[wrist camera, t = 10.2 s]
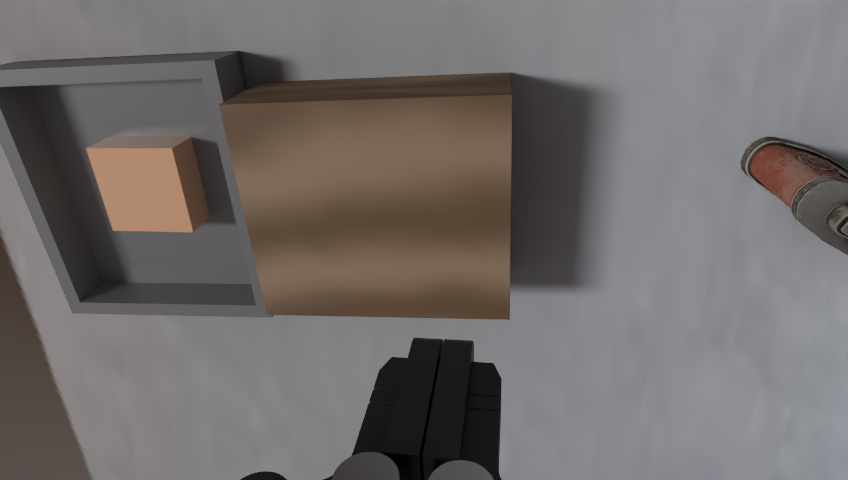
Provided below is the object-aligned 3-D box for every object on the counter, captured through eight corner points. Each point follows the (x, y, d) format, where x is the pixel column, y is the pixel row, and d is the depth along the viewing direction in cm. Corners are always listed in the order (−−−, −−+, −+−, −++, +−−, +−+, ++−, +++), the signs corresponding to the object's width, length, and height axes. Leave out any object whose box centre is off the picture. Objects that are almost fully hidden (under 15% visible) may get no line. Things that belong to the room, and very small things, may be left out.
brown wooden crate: (260, 82, 36) (218, 104, 30) (510, 72, 34) (512, 94, 28) (296, 269, 42) (266, 314, 37) (508, 271, 40) (509, 319, 35)
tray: (14, 61, 37) (-30, 71, 34) (239, 50, 35) (214, 60, 32) (101, 288, 45) (72, 313, 42) (288, 291, 43) (272, 317, 40)
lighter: (876, 180, 34) (1009, 259, 25) (835, 224, 35) (947, 314, 27) (764, 124, 33) (860, 186, 24) (727, 172, 35) (805, 246, 26)
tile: (171, 148, 35) (191, 136, 37) (85, 148, 36) (109, 137, 38) (193, 232, 38) (210, 217, 40) (113, 230, 39) (133, 215, 41)
